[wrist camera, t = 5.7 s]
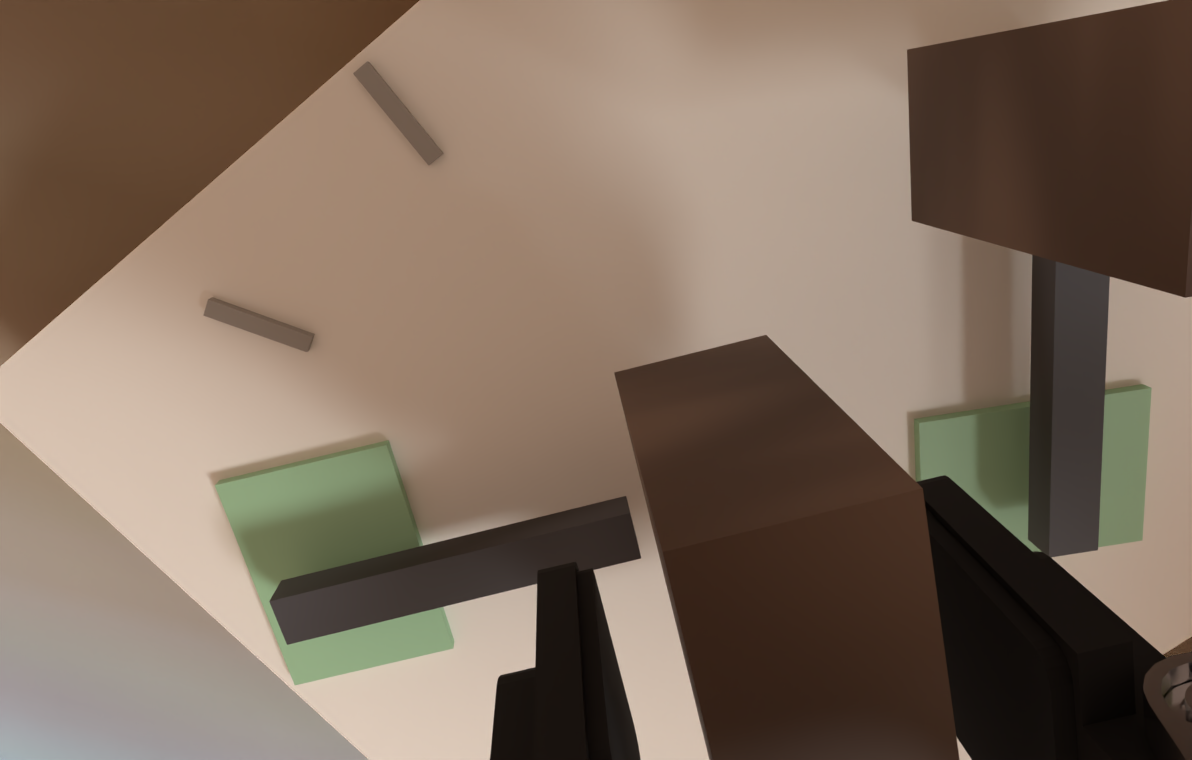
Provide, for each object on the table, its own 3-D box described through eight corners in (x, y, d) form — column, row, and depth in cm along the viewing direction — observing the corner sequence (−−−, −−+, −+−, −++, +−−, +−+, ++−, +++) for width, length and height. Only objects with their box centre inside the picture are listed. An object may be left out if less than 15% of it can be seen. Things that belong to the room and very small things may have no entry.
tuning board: (1365, 391, 20) (1518, 442, 17) (615, 884, 23) (626, 1004, 20) (954, -422, 15) (1063, -566, 12) (61, 349, 18) (-41, 398, 15)
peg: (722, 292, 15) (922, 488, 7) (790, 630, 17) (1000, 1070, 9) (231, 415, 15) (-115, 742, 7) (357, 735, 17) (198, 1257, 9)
